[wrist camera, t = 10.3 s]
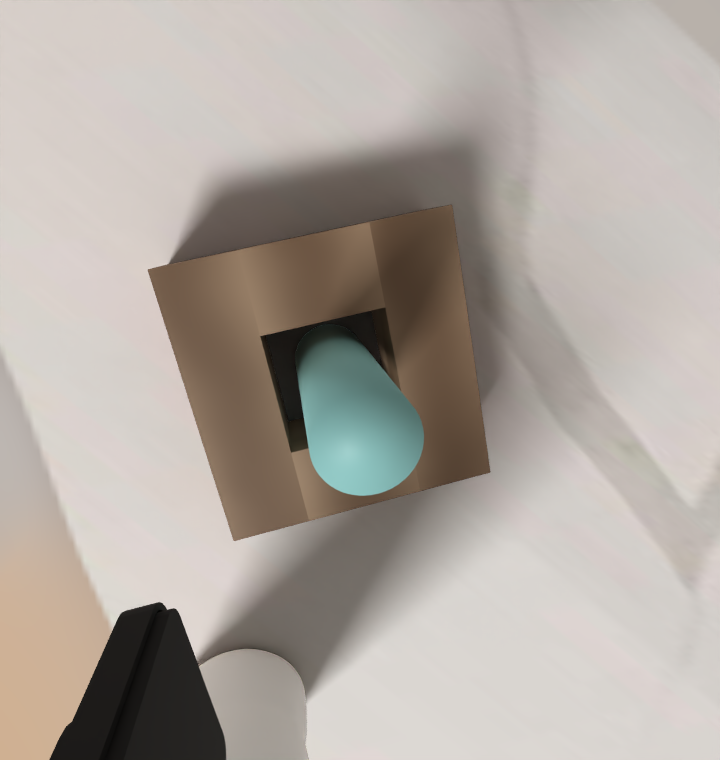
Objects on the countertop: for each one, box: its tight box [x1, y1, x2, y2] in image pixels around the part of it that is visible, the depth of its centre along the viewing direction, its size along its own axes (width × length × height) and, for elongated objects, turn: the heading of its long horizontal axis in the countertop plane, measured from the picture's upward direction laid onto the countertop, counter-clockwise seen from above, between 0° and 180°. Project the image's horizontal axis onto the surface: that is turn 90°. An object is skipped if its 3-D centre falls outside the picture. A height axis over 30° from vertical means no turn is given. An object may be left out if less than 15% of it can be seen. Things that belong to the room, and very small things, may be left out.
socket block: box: [148, 205, 490, 541], centre depth 24 cm, size 12×12×4 cm
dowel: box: [295, 324, 424, 496], centre depth 20 cm, size 3×3×11 cm
